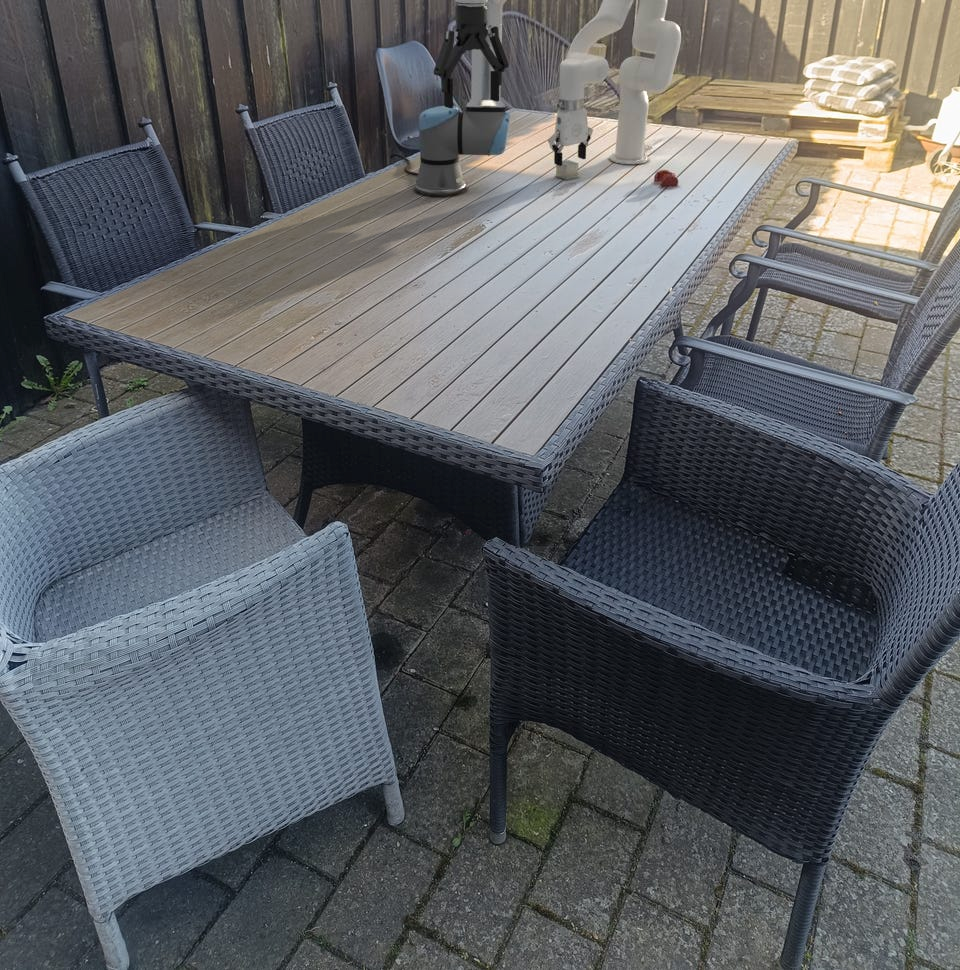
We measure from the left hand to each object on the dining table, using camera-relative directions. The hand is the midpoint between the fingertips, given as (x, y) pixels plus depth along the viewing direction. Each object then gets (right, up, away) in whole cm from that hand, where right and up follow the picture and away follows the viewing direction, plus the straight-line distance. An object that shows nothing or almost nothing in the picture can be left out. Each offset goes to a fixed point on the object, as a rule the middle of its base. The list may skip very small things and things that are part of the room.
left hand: (472, 104), depth 206 cm
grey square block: (+30, +6, +64) cm, 71 cm away
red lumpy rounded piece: (+60, +1, +57) cm, 83 cm away
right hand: (+31, +10, +62) cm, 70 cm away
